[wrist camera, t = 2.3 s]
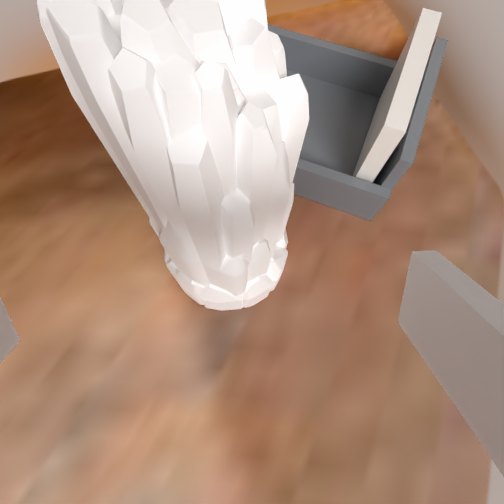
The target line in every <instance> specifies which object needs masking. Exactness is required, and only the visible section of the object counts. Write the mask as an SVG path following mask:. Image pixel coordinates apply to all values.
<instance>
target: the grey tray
mask: <svg viewBox="0 0 504 504" xmlns="http://www.w3.org/2000/svg"><path fill="white" fill-rule="evenodd" d="M267 26H268V31H271V32H273V33H275V34H277V35H278V36H279V38H280V40H281V43H282V45H283V47H284V50H285V59H286V70H287V77H288V76H292V75H295V74H300V76H301V79H302V81H303V83H304V85H305V87H306V90H307V92H308V102H309V122H308V126H307V130H306V133H305V137H304V141H303V145H302V149H301V152H300V156H299V160H298V164H297V167H296V171H295V175H294V179H293V183H294V194H295V195H297V196H300V197H303V198H306V199H309V200H312V201H315V202H317V203H320V204H323V205H326V206H329V207H332V208H335V209H337V210H340V211H343V212H346V213H349V214H352V215H354V216H357V217H360V218H363V219H366V220H369V221H371V220H372V219H373V218H374V216H375V215H376V214H377V213H378V212H379V210H380V209H381V208H382V207H383V206H384V204H385V203H386V202H387V201H388V200H389V198H390V194H391V191H392V189H393V188H394V186H395V185H396V184H397V183H398V181H399V180H400V179H401V178H402V176H403V175H404V174H405V173H406V171H407V170H408V169H409V168H410V166H411V165H412V164H413V161H414V158H415V154H416V151H417V147H418V143H419V140H420V136H421V133H422V129H423V126H424V122H425V119H426V115H427V112H428V108H429V105H430V101H431V98H432V94H433V91H434V87H435V84H436V80H437V77H438V73H439V69H440V66H441V62H442V59H443V55H444V52H445V48H446V45H447V41H448V40H445V39H441V38H438V37H437V38H436V39H435V41H434V43H433V45H432V47H431V51H430V54H429V57H428V61H427V64H426V67H425V71H424V74H423V77H422V81H421V84H420V87H419V90H418V94H417V97H416V100H415V104H414V107H413V110H412V114H411V117H410V120H409V123H408V127H407V130H406V133H405V134H404V136H403V137H402V139H401V140H400V142H399V143H398V145H397V146H396V148H395V149H394V151H393V152H392V154H391V155H390V157H389V158H388V160H387V161H386V163H385V164H384V166H383V167H382V169H381V170H380V172H379V173H378V175H377V176H376V178H375V179H374V181H373V182H372V183H371V182H368V181H365V180H362V179H359V178H356V177H353V173H354V171H355V168H356V165H357V162H358V159H359V156H360V153H361V150H362V148H363V145H364V142H365V139H366V136H367V133H368V130H369V127H370V125H371V122H372V119H373V116H374V113H375V110H376V107H377V104H378V102H379V99H380V97H381V95H382V93H383V90H384V88H385V86H386V84H387V82H388V80H389V78H390V76H391V74H392V72H393V70H394V68H395V65H396V63H397V61H394V60H391V59H387V58H384V57H380V56H377V55H373V54H370V53H366V52H363V51H359V50H356V49H352V48H349V47H345V46H342V45H338V44H335V43H331V42H328V41H324V40H321V39H317V38H314V37H310V36H307V35H303V34H300V33H296V32H293V31H289V30H286V29H282V28H279V27H275V26H272V25H268V24H267Z"/></svg>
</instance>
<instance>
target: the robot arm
mask: <svg viewBox="0 0 504 504" xmlns="http://www.w3.org/2000/svg"><path fill="white" fill-rule="evenodd" d="M398 323H399V325H400V326H401V328H402V329H403V330H404V332H405V333H406V335H407V336H408V338H409V339H410V341H411V342H412V344H413V345H414V347H415V348H416V349H417V351H418V352H419V354H420V355H421V357H422V358H423V360H424V361H425V363H426V364H427V365H428V367H429V368H430V370H431V371H432V373H433V374H434V376H435V377H436V379H437V380H438V381H439V383H440V384H441V386H442V387H443V389H444V390H445V392H446V393H447V395H448V396H449V397H450V399H451V400H452V402H453V403H454V405H455V406H456V408H457V409H458V411H459V412H460V413H461V415H462V416H463V418H464V419H465V421H466V422H467V424H468V425H469V427H470V428H471V429H472V431H473V432H474V434H475V435H476V437H477V438H478V440H479V441H480V443H481V444H482V446H483V447H484V448H485V450H486V451H487V453H488V454H489V456H490V457H491V459H492V460H493V461H494V463H495V464H496V466H497V467H498V469H499V470H500V472H501V473H502V474H503V476H504V304H502V303H501V302H500V301H499V300H497V299H496V298H495V297H494V296H492V295H491V294H490V293H489V292H487V291H486V290H485V289H484V288H483V287H481V286H480V285H479V284H478V283H476V282H475V281H474V280H473V279H471V278H470V277H469V276H468V275H466V274H465V273H464V272H463V271H461V270H460V269H459V268H458V267H456V266H455V265H454V264H453V263H451V262H450V261H449V260H448V259H446V258H445V257H444V256H443V255H441V254H440V253H439V252H438V251H436V250H434V251H412V254H411V259H410V264H409V269H408V274H407V279H406V284H405V289H404V294H403V299H402V304H401V309H400V314H399V319H398ZM19 342H20V339H19V337H18V334H17V332H16V330H15V328H14V326H13V323H12V321H11V319H10V317H9V315H8V312H7V310H6V308H5V306H4V303H3V301H2V299H1V297H0V363H1V362H2V361H3V360H4V359H5V358H6V357H7V355H8V354H9V353H10V352H11V351H12V350H13V349H14V348H15V347H16V345H17V344H18V343H19Z"/></svg>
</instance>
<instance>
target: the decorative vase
mask: <svg viewBox="0 0 504 504" xmlns="http://www.w3.org/2000/svg"><path fill="white" fill-rule="evenodd" d="M36 1H37V9H38V15H39V21H40V24H41V27H42V29H43V31H44V33H45V36H46V38H47V40H48V42H49V45H50V47H51V49H52V51H53V54H54V56H55V58H56V61H57V63H58V65H59V67H60V70H61V72H62V74H63V77H64V79H65V81H66V83H67V86H68V88H69V90H70V93H71V95H72V97H73V98H74V100H75V101H76V103H77V104H78V106H79V108H80V109H81V111H82V112H83V114H84V116H85V117H86V119H87V120H88V122H89V123H90V125H91V127H92V128H93V130H94V131H95V133H96V134H97V136H98V138H99V139H100V141H101V142H102V144H103V145H104V147H105V149H106V150H107V152H108V153H109V155H110V156H111V158H112V160H113V161H114V163H115V164H116V166H117V167H118V169H119V171H120V172H121V174H122V175H123V177H124V178H125V180H126V182H127V183H128V185H129V186H130V188H131V189H132V191H133V193H134V194H135V196H136V197H137V199H138V201H139V202H140V204H141V205H142V207H143V208H144V210H145V212H146V213H147V215H148V216H149V221H150V225H151V226H152V228H153V229H154V231H155V232H156V234H157V235H158V237H159V238H160V240H159V241H160V243H161V244H162V246H163V247H164V260H165V262H166V266H167V268H168V269H169V271H170V272H171V273H172V275H173V276H174V278H175V279H176V280H177V282H178V283H179V285H180V286H181V288H182V289H183V291H184V292H185V293H186V294H187V295H189V296H190V297H191V298H192V299H193V300H195V301H196V302H197V303H198V304H200V305H205V307H206V308H209V309H216V310H234V309H242V307H245V308H247V307H250V306H253V305H255V304H256V303H258V302H260V301H261V300H263V299H264V298H266V297H267V296H268V294H269V291H273V290H274V288H275V287H276V285H277V283H278V281H279V279H280V276H281V274H282V272H283V269H284V265H285V262H286V258H287V255H288V251H287V250H286V246H287V243H288V239H287V234H286V229H285V227H286V224H287V221H288V217H289V214H290V211H291V208H292V204H293V198H294V183H293V179H294V175H295V171H296V167H297V164H298V160H299V156H300V152H301V149H302V145H303V141H304V137H305V133H306V130H307V126H308V122H309V102H308V92H307V90H306V87H305V85H304V83H303V81H302V79H301V76H300V74H295V75H292V76H288V77H287V70H286V59H285V50H284V47H283V45H282V43H281V40H280V38H279V36H278V35H277V34H275V33H273V32H271V31H268V26H267V15H266V5H265V0H36Z"/></svg>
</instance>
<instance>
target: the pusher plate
mask: <svg viewBox="0 0 504 504" xmlns="http://www.w3.org/2000/svg"><path fill="white" fill-rule="evenodd" d="M441 14H442V13H440V12H436V11H433V10H429V9H425V8H423V9H422V11H421V13H420V15H419V17H418V20H417V22H416V24H415V26H414V28H413V30H412V32H411V35H410V36H409V38H408V40H407V42H406V45H405V47H404V49H403V51H402V53H401V55H400V57H399V59H398V61H397V63H396V65H395V68H394V70H393V72H392V74H391V76H390V78H389V80H388V82H387V84H386V86H385V88H384V90H383V93H382V95H381V97H380V99H379V102H378V104H377V107H376V110H375V113H374V116H373V119H372V122H371V125H370V127H369V130H368V133H367V136H366V139H365V142H364V145H363V148H362V150H361V153H360V156H359V159H358V162H357V165H356V168H355V171H354V173H353V177H356V178H359V179H362V180H365V181H368V182H371V183H372V182H373V181H374V179H375V178H376V176H377V175H378V173H379V172H380V170H381V169H382V167H383V166H384V164H385V163H386V161H387V160H388V158H389V157H390V155H391V154H392V152H393V151H394V149H395V148H396V146H397V145H398V143H399V142H400V140H401V139H402V137H403V136H404V134H405V133H406V130H407V127H408V123H409V120H410V117H411V114H412V110H413V107H414V104H415V100H416V97H417V94H418V90H419V87H420V84H421V81H422V77H423V74H424V71H425V67H426V64H427V61H428V57H429V54H430V51H431V47H432V44H433V41H434V38H435V34H436V30H437V28H438V24H439V21H440V18H441Z"/></svg>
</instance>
